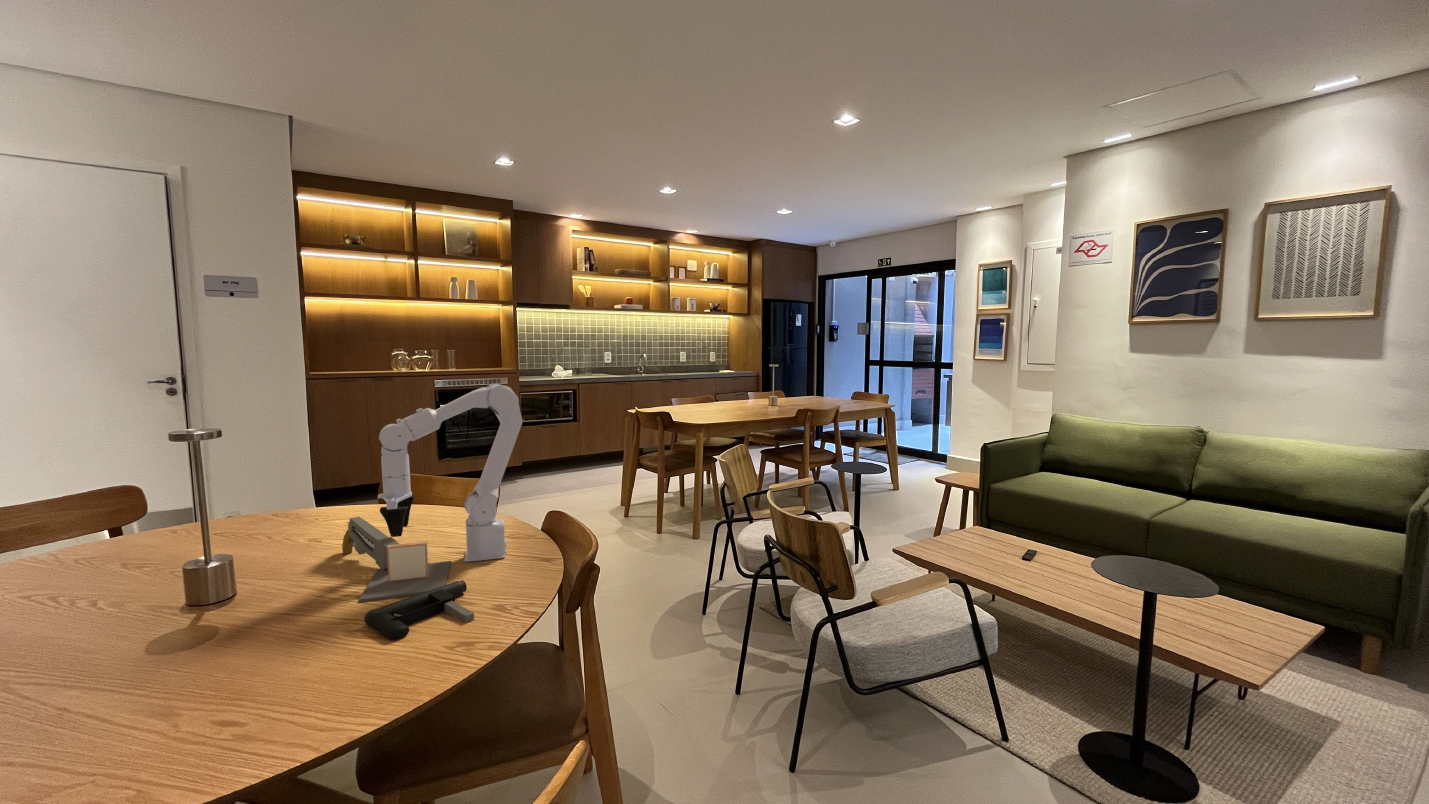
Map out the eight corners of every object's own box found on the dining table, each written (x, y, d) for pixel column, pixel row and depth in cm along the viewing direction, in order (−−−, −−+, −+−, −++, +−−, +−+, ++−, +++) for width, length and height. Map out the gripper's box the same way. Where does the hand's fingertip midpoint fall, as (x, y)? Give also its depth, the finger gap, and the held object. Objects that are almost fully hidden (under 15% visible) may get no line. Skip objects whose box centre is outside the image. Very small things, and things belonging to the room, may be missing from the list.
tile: (429, 575, 135) (427, 541, 134) (427, 577, 133) (426, 543, 132) (389, 579, 132) (388, 545, 131) (388, 582, 130) (386, 547, 130)
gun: (382, 604, 139) (392, 550, 135) (335, 550, 151) (343, 499, 147) (395, 600, 141) (405, 547, 137) (348, 546, 154) (356, 497, 150)
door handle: (500, 598, 118) (457, 576, 128) (399, 638, 102) (358, 609, 112) (500, 614, 119) (457, 590, 128) (400, 655, 103) (359, 625, 112)
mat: (451, 563, 144) (451, 560, 144) (443, 591, 127) (443, 589, 127) (377, 571, 139) (377, 568, 139) (359, 602, 122) (359, 599, 122)
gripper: (383, 470, 143) (387, 524, 144) (369, 483, 129) (373, 542, 131) (415, 468, 145) (418, 521, 147) (405, 480, 132) (408, 539, 133)
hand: (399, 531), depth 139 cm, fingers open, 7 cm apart
